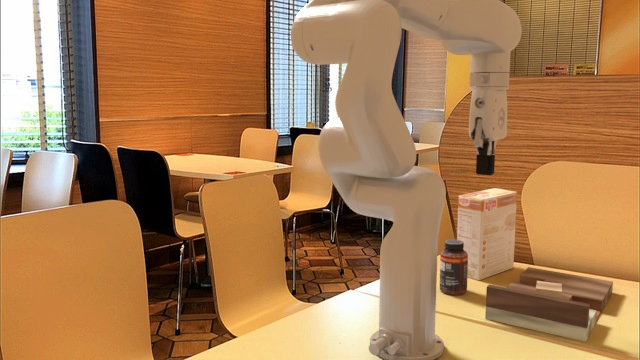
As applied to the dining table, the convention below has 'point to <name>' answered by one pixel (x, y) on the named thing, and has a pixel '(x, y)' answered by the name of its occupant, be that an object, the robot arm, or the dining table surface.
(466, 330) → the dining table surface
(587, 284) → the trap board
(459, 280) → the supplement bottle
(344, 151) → the robot arm
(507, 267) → the coffeecake box
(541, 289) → the maple block
